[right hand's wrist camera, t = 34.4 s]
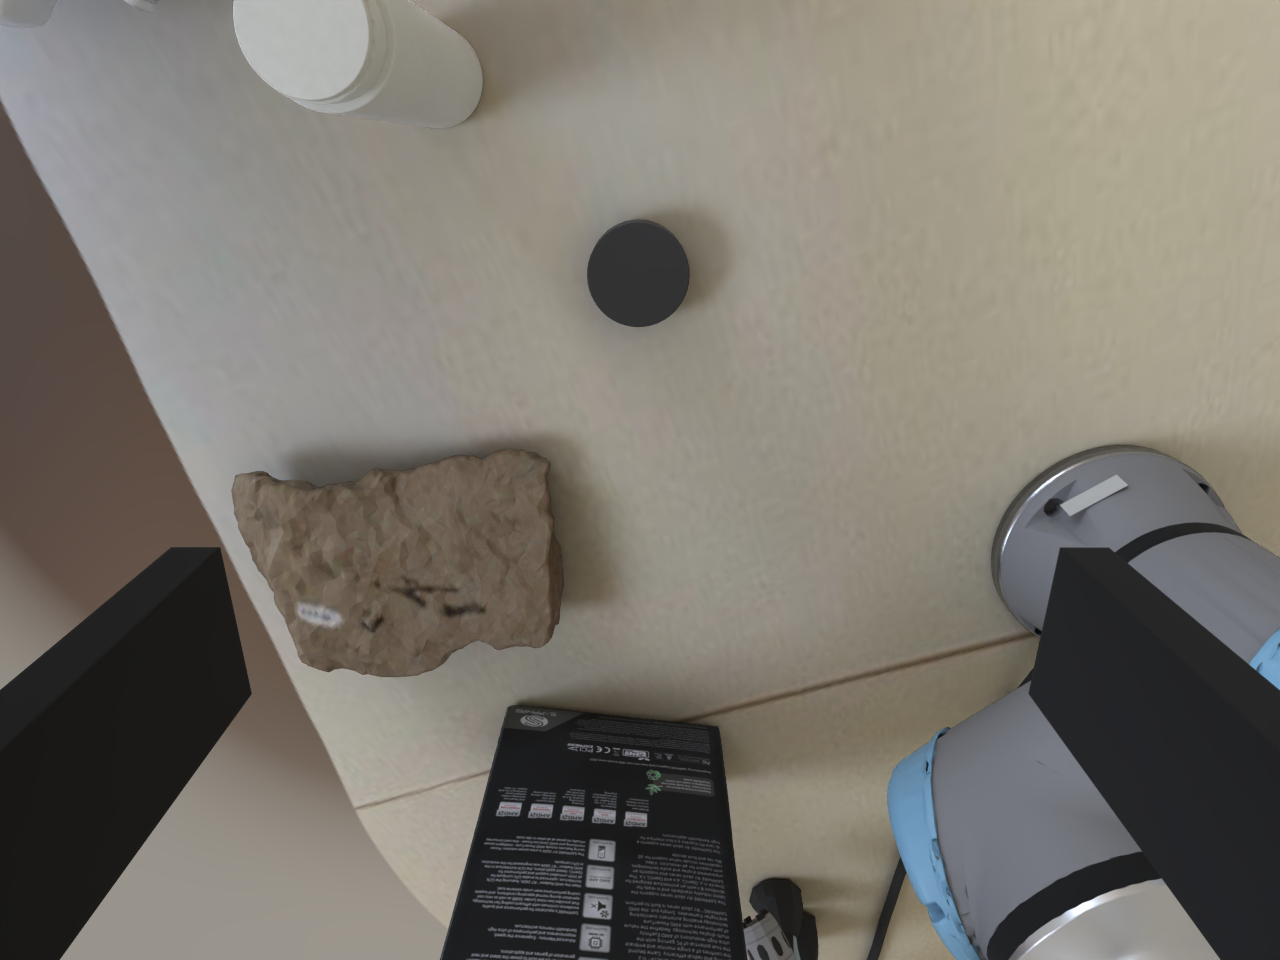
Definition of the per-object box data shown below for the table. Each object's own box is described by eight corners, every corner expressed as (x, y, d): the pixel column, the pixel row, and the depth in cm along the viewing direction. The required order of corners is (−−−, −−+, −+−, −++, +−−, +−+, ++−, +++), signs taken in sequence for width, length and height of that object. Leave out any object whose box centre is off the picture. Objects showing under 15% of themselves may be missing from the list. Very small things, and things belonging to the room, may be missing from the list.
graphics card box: (497, 766, 65) (406, 1157, 40) (501, 695, 62) (406, 1064, 37) (708, 784, 66) (752, 1179, 40) (720, 714, 63) (775, 1089, 38)
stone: (276, 674, 58) (248, 709, 52) (240, 470, 56) (207, 482, 50) (569, 633, 60) (575, 662, 55) (547, 436, 58) (550, 444, 52)
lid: (707, 261, 50) (710, 266, 48) (646, 339, 52) (647, 347, 50) (629, 198, 49) (628, 200, 47) (570, 279, 51) (566, 285, 49)
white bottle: (499, 61, 46) (405, -3, 28) (456, 147, 48) (340, 141, 29) (414, 4, 45) (257, -103, 27) (373, 94, 47) (199, 53, 28)
